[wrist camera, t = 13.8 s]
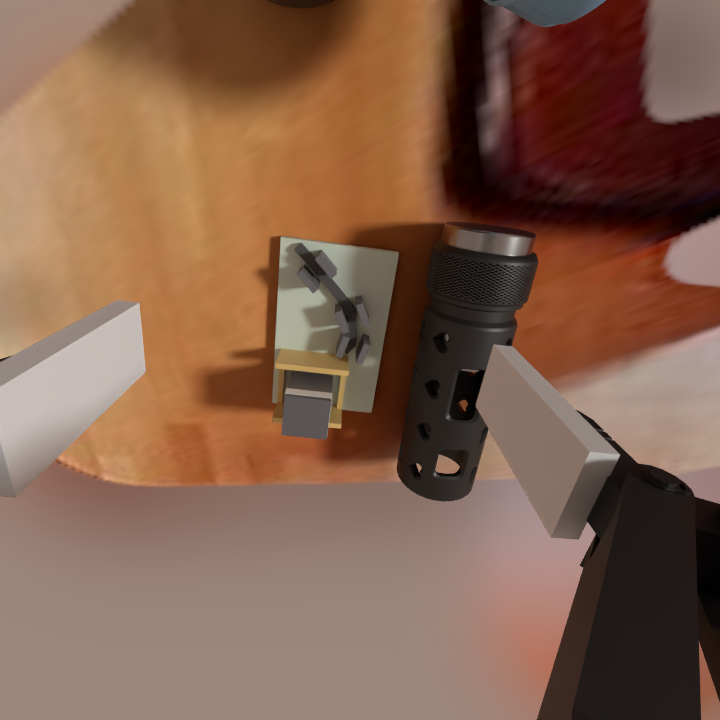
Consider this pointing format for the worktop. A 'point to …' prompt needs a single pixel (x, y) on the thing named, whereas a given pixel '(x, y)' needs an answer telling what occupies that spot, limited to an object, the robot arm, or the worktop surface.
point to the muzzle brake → (461, 350)
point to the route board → (320, 312)
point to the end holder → (315, 364)
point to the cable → (334, 290)
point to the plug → (307, 405)
